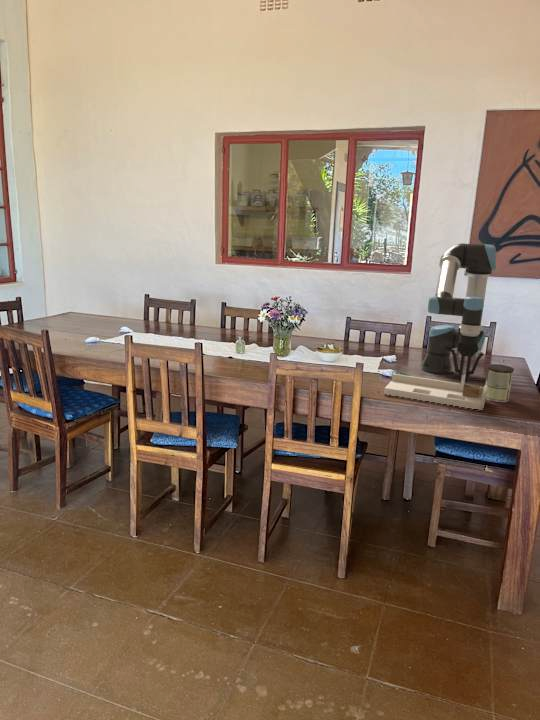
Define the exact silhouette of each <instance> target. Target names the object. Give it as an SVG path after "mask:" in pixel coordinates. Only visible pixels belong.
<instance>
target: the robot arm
mask: <svg viewBox="0 0 540 720" xmlns="http://www.w3.org/2000/svg"><path fill="white" fill-rule="evenodd" d="M496 251H497V250H496V246H495V245H493V244H487V243H458V244H454V245H452V246H450V247H449V248H448V249H446V251H445V252H443V254H442V256H441V257H440V258H439V264H438V265H439V268H440V269H439V270H440V271H439V275H438V279H437V286H436V289H435V294H434V295H431V296H430V297H429V298H428V303H427V311H428V313H429V314H434V315H446V316H454V317H455V316H457V317H462V318H461V324H459V326H458V328H457V329H455V326H454V325H449V324H445V325H443V324H442V325H439V324H438V325H434V326H432V327H430V329H429V333H428V342H427V350H426V355H425V358H424V359H423V361H422V364H421V370H422V371H425V372H428V373H431V374H439V375H441V374H442V375H446V374H447V375H449V374H451V373H452V372H453V365H454V371H455V373H457V374H458V379H457V381H458V382H459V383H460V384H461V385H460V390H463V388H464V385H465V384H466V383H469V378H470V375H474V373H475V371H476V369H477V367H478V363H479V362H480V359H481V358H482V357H483V356H484V352H483V351H482V350H483V347H484V345H485V344H484V343H485V341H486V340H485V339H486V335H487V333H486V332H485V331H484V327H483V326H482V320H483V319H482V318H483V313H484V312H483V310H484V307H485V299H486V298H485V297H486V293H487V284H488V278H489V276H491V275H492V274H493V272H494V271H496V265H497V264H496V262H497V261H496V260H497V259H496V257H497V255H496V253H497V252H496ZM460 269H465V273H466V275H468V279H467V285H466V286H467V288H466V292H465V293H466V294H465V298H460V297H459V298H458V297H454V293H455V292H454V291H455V287H456V280H457V275H458V271H459V270H460ZM492 271H493V272H492ZM457 353H459V354H460V356H461V358H460V359H461V360H460V365H459V363H458V354H457ZM451 354H452V357H453V362H452V359H451ZM474 355H476V356H477V357H476V359H475V361H474V364H473V366H472V368H471V365H472V364H471V363H472V357H473V356H474ZM466 357H467V363H466V369H465V373H464V366H465V358H466ZM452 363H453V364H452Z"/></svg>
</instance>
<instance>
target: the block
mask: <svg viewBox="0 0 540 720" xmlns="http://www.w3.org/2000/svg"><path fill="white" fill-rule="evenodd" d="M480 387H481V386H480V385H475V384H470V383H469V384H468V383H465V385H464V388H463V396H467V397H473V398H478V396H479V389H480Z"/></svg>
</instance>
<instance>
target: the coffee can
mask: <svg viewBox="0 0 540 720" xmlns="http://www.w3.org/2000/svg"><path fill="white" fill-rule="evenodd" d="M514 370H515V369H514V368H513V367H511V366H508V365H504V364H488V365H487V371H486V372H487V373H486V379H485V385H488V386H487V393H486V399H485V400H487V401H491V402H496V403H507V401H508V402H509V401H510V394H511V388H512V382H513V376H514V374H513V373H514Z"/></svg>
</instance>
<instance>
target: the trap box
mask: <svg viewBox="0 0 540 720" xmlns="http://www.w3.org/2000/svg"><path fill="white" fill-rule="evenodd" d="M391 376H392V381H391V380H390V381H389V383H387V385H386V386H385V387H384V391H383V392H384V393H383V395H384V394H386V395H385V396H389V395H391V397H395V396H399V397H398V398H401V397H405V398H404V399H407V398H411V399H410V400H413V399H417V400H416V401H419V400H422V401H421V402H425V401H429V402H428V403H431V402H435V403H434V404H437V403H441V404H440V405H443V404H447V405H446V406H449V405H453V406H452V407H455V406H459V407H458V408H461V407H465V408H464V409H467V408H472V409H471V410H473V409H479V410H483V411H484V409H483V408H485V404H486V400H487V399H486V393H487V386H488V385H486V384H484V386H480V389H479V396H478V398H473V397H467V396H463V390H460V385H461V382H453V381H445V380H439V379H432V378H426V377H421V376H420V377H419V376H412V375H411V376H407V375H402V374H401V375H400V373H393V374H392V373H391ZM479 410H478V411H479Z"/></svg>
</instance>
